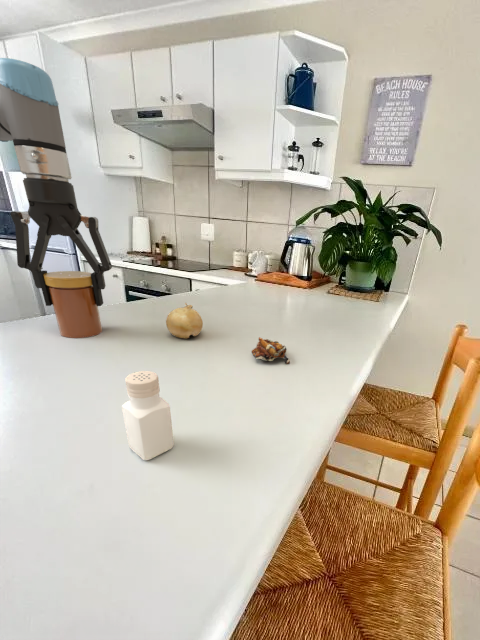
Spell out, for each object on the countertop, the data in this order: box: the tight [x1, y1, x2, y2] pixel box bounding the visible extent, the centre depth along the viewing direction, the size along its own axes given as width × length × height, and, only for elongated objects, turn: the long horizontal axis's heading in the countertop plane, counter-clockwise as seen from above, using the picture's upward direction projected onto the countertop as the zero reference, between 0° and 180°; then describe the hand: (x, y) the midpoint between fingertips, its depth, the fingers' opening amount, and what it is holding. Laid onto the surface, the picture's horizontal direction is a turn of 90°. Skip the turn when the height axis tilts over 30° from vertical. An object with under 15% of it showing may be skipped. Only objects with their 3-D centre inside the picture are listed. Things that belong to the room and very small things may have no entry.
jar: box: [48, 285, 103, 339], centre depth 69 cm, size 8×8×12 cm
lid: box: [44, 270, 93, 288], centre depth 66 cm, size 9×9×2 cm
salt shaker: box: [121, 370, 175, 461], centre depth 36 cm, size 4×4×10 cm
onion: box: [165, 302, 204, 339], centre depth 73 cm, size 8×8×7 cm
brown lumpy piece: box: [251, 336, 291, 365], centre depth 68 cm, size 7×12×4 cm, turn 15°
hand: (75, 304), depth 68 cm, fingers closed on lid, 8 cm apart
